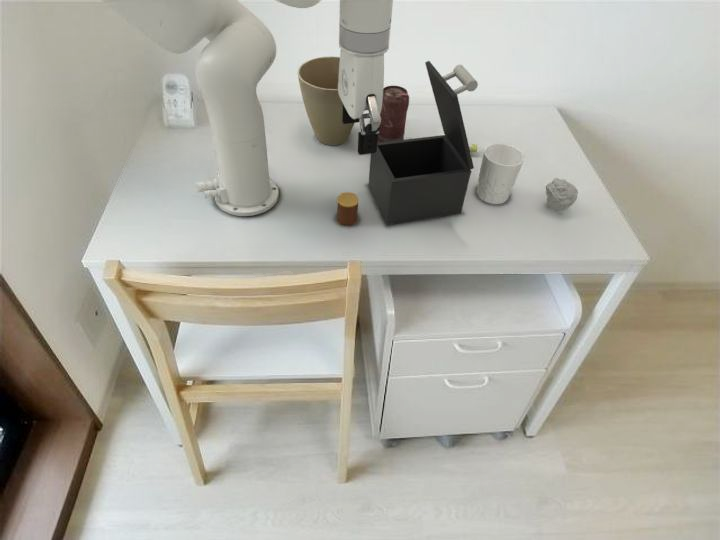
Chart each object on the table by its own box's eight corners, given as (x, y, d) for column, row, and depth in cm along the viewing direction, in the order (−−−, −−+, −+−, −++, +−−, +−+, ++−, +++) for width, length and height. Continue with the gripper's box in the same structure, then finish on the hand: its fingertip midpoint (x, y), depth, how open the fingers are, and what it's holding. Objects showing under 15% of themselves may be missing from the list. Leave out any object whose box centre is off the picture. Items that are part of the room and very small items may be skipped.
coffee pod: (339, 227, 100) (340, 207, 96) (334, 213, 103) (334, 193, 99) (360, 224, 101) (361, 204, 97) (354, 211, 104) (355, 191, 100)
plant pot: (291, 126, 124) (288, 61, 113) (349, 116, 129) (351, 52, 117) (312, 160, 115) (311, 93, 103) (373, 148, 119) (379, 83, 108)
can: (401, 157, 117) (408, 100, 107) (373, 153, 118) (378, 95, 108) (405, 143, 122) (412, 86, 111) (378, 139, 122) (383, 82, 112)
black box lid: (452, 97, 84) (484, 81, 84) (424, 62, 93) (453, 48, 92) (470, 170, 97) (497, 157, 97) (444, 133, 105) (469, 121, 105)
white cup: (465, 191, 110) (475, 151, 103) (489, 178, 114) (501, 138, 106) (494, 211, 106) (507, 170, 99) (518, 197, 110) (532, 156, 102)
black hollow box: (386, 225, 101) (391, 181, 94) (368, 185, 110) (371, 143, 102) (460, 213, 105) (471, 171, 97) (437, 176, 113) (445, 134, 106)
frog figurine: (532, 200, 109) (543, 173, 104) (562, 197, 110) (573, 169, 105) (546, 219, 105) (558, 192, 100) (577, 215, 106) (590, 188, 101)
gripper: (325, 15, 82) (325, 113, 94) (356, 64, 70) (351, 169, 83) (371, 12, 83) (365, 109, 96) (407, 60, 72) (395, 163, 84)
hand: (358, 137), depth 89 cm, fingers open, 9 cm apart
